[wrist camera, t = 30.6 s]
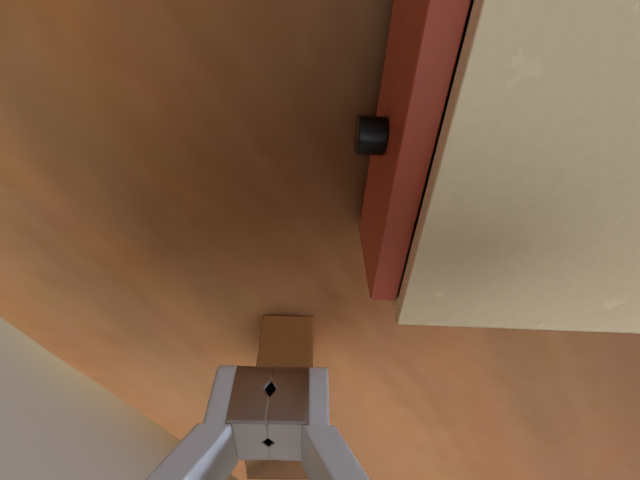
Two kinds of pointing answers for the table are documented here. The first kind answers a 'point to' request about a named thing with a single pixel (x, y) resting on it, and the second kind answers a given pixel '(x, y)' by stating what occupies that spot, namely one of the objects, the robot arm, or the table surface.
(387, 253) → the rack drawer
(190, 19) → the table surface
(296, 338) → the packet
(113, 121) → the table surface
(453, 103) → the beige cabinet housing
